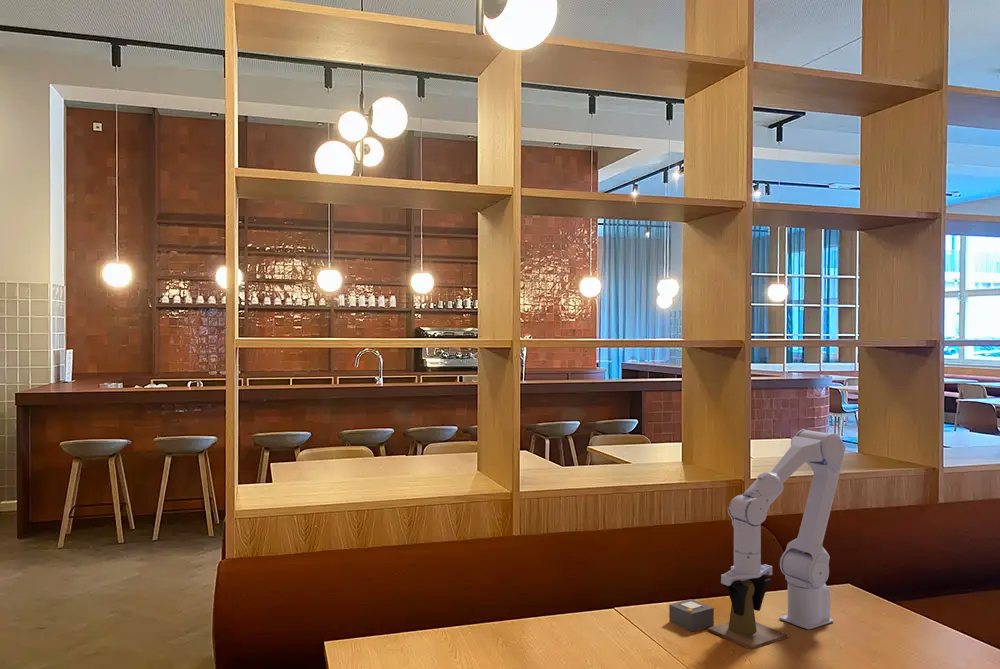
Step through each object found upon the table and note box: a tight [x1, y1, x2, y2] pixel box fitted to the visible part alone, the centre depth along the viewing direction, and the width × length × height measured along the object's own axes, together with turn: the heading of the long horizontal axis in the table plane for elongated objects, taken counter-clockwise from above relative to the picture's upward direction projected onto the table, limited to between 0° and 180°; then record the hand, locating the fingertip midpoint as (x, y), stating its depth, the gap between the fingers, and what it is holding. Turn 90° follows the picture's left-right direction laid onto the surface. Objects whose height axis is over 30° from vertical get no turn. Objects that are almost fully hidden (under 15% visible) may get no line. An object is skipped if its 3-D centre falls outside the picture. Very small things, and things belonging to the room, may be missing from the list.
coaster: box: [707, 621, 789, 650], centre depth 171 cm, size 12×12×1 cm
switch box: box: [668, 598, 715, 632], centre depth 177 cm, size 7×7×4 cm
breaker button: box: [681, 602, 702, 610], centre depth 177 cm, size 3×3×3 cm
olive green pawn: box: [728, 580, 757, 635], centre depth 172 cm, size 6×6×11 cm
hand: (747, 611), depth 171 cm, fingers closed on olive green pawn, 5 cm apart
